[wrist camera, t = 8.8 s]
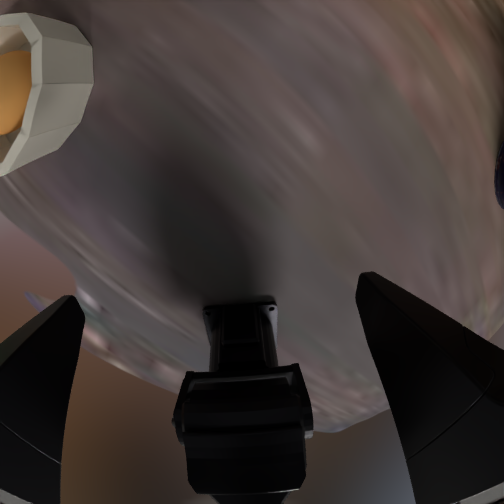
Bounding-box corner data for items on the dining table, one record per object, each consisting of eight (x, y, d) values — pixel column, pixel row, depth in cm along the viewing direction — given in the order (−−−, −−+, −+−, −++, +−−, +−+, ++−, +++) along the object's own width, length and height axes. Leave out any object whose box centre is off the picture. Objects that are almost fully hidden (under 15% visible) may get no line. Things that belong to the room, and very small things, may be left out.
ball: (64, 112, 13) (10, 125, 8) (12, 136, 13) (-38, 157, 8) (60, 40, 10) (9, 31, 5) (7, 71, 10) (-43, 77, 5)
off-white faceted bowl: (100, 136, 15) (51, 155, 10) (6, 170, 15) (-39, 197, 10) (93, 3, 10) (48, -18, 4) (-5, 60, 9) (-51, 65, 4)
